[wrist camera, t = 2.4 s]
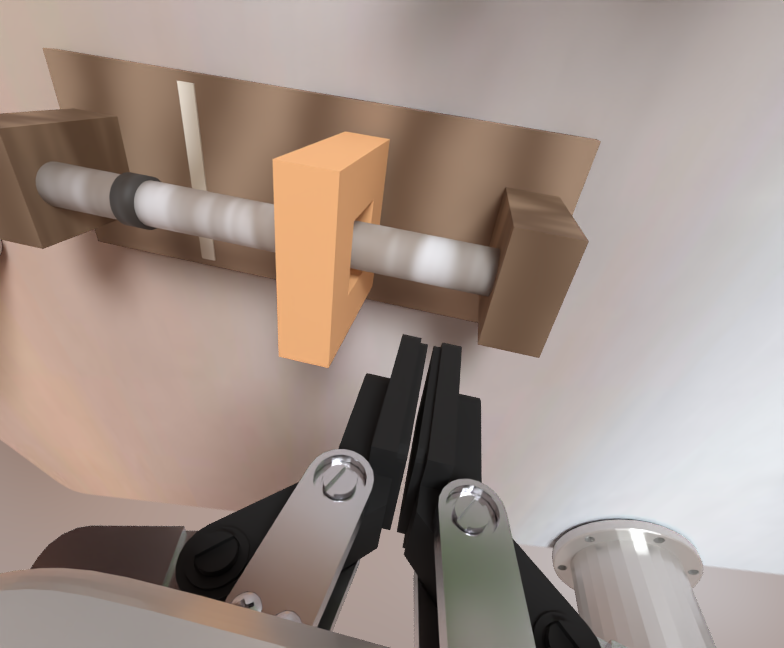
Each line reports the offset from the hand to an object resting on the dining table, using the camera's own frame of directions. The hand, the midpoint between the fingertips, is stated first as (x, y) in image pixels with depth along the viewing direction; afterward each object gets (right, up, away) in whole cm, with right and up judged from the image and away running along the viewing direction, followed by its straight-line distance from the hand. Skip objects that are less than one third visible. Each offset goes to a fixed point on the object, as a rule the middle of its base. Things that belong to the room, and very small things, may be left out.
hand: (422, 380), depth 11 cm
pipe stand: (-6, +10, +14) cm, 18 cm away
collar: (-3, +8, +13) cm, 15 cm away
